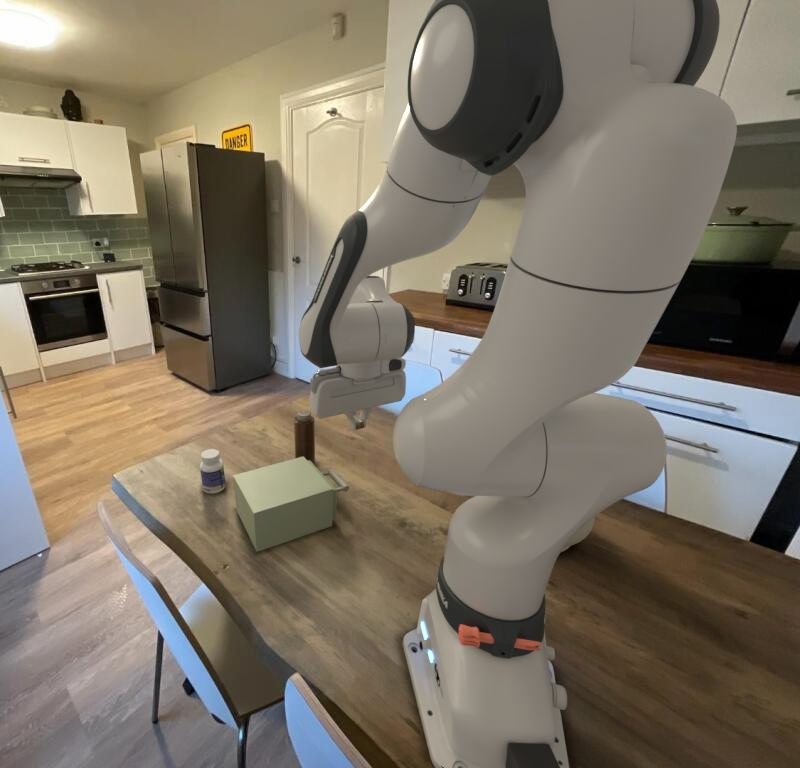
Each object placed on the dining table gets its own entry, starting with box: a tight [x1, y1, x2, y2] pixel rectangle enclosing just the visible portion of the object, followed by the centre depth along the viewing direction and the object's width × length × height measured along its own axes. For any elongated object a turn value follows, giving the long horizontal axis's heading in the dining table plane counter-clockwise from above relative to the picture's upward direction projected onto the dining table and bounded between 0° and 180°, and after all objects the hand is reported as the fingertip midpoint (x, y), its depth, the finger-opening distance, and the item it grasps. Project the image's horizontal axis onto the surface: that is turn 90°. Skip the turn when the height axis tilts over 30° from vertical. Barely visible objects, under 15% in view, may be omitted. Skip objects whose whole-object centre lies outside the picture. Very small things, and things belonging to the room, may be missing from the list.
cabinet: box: [232, 456, 333, 553], centre depth 81 cm, size 16×13×9 cm
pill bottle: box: [199, 448, 226, 495], centre depth 91 cm, size 5×5×9 cm
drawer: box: [308, 460, 350, 521], centre depth 82 cm, size 19×12×7 cm, turn 114°
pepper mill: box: [293, 409, 316, 466], centre depth 97 cm, size 5×5×14 cm
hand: (357, 428), depth 82 cm, fingers closed
